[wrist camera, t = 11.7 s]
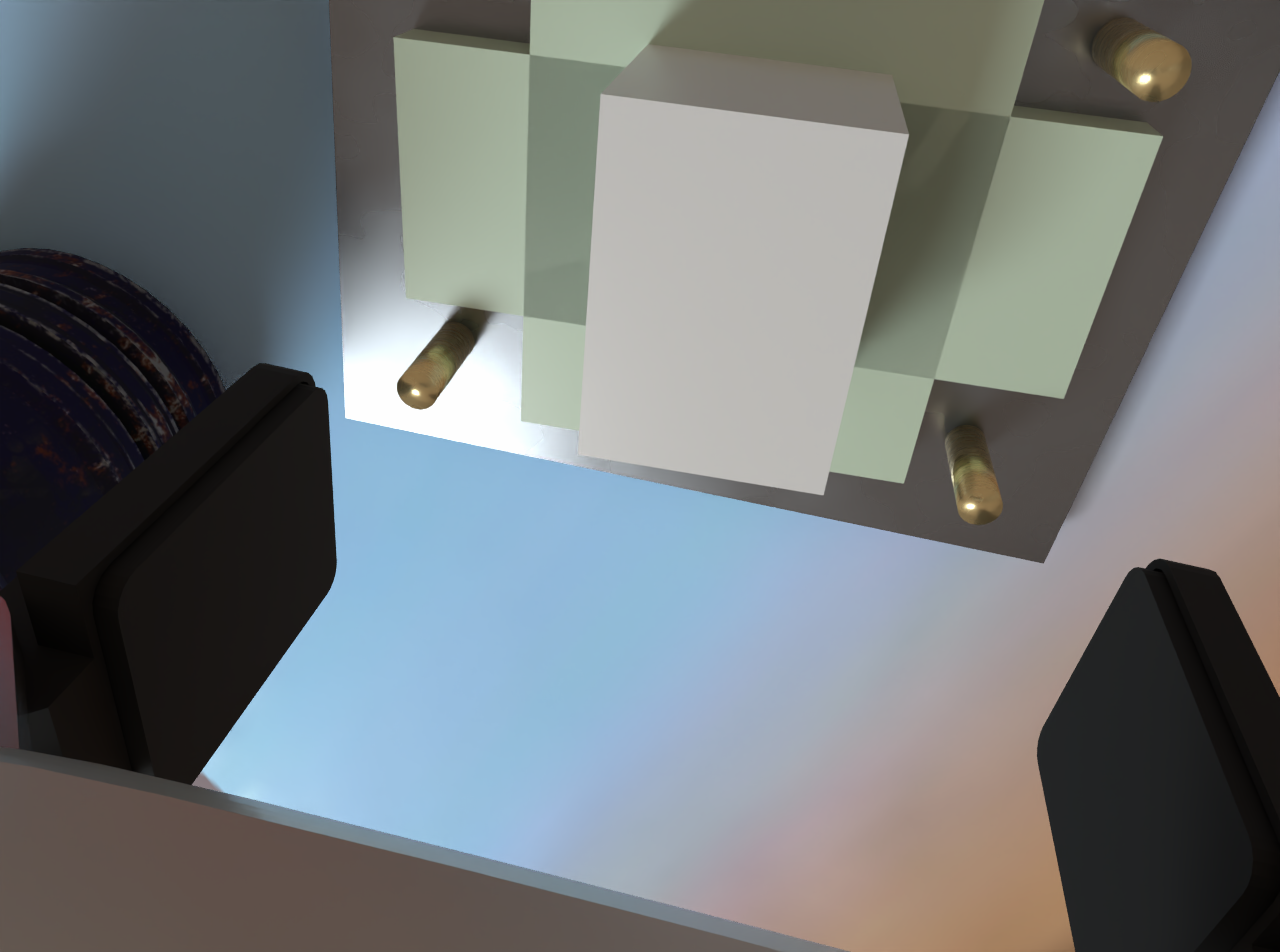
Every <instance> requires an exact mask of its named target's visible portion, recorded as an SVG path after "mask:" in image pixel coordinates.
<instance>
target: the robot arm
mask: <svg viewBox="0 0 1280 952" xmlns="http://www.w3.org/2000/svg"><path fill="white" fill-rule="evenodd" d="M336 565H337V559H336V540H335V522H334V504H333V485H332V467H331V448H330V430H329V412H328V399H327V394H326V392H325V390H323V389H322V388H319V387H315V382H314V380H313V377H312V376H311V375H310V374H309V373H307V372H302V371H298V370H293V369H289V368H284V367H279V366H275V365H270V364H266V363H259V364H258V365H256V366H254V367H253V368H252V369H250V370H249V371H248V372H247V373H246V374H245V375H243V376H242V377H241V378H240V379H239V380H238V381H236V382H235V383H234V384H233V385H232V386H231V387H229V388H228V389H227V390H226V391H225V392H224V393H223V394H221V395H220V396H219V397H218V398H217V399H216V400H214V401H213V402H212V403H211V404H210V405H209V406H207V407H206V408H205V409H204V410H203V411H202V412H200V413H199V414H198V415H197V416H196V417H195V418H193V419H192V420H191V421H190V422H189V423H188V424H186V425H185V426H184V427H183V428H182V429H181V430H179V431H178V432H177V433H176V434H175V435H174V436H172V437H171V438H170V439H169V440H168V441H167V442H165V443H164V444H163V445H162V446H161V447H160V448H159V449H157V450H156V451H155V452H154V453H153V454H152V455H150V456H149V457H148V458H147V459H146V460H145V461H143V462H142V463H141V464H140V465H139V466H138V467H136V468H135V469H134V470H133V471H132V472H131V473H129V474H128V475H127V476H126V477H125V478H124V479H122V480H121V481H120V482H119V483H118V484H117V485H115V486H114V487H113V488H112V489H111V490H110V491H108V492H107V493H106V494H105V495H104V496H103V497H101V498H100V499H99V500H98V501H97V502H96V503H95V504H93V505H92V506H91V507H90V508H89V509H88V510H86V511H85V512H84V513H83V514H82V515H81V516H79V517H78V518H77V519H76V520H75V521H74V522H72V523H71V524H70V525H69V526H68V527H67V528H65V529H64V530H63V531H62V532H61V533H60V534H58V535H57V536H56V537H55V538H54V539H53V540H51V541H50V542H49V543H48V544H47V545H46V546H44V547H43V548H42V549H41V550H40V551H39V552H37V553H36V554H35V555H34V556H33V557H32V558H31V559H29V560H28V561H27V562H26V563H25V564H24V565H22V566H21V567H20V568H19V569H18V570H17V571H16V573H17V577H16V578H14V579H13V580H12V581H11V582H10V583H9V584H8V585H6V586H5V587H4V588H3V589H2V590H1V591H0V952H849V951H845V950H842V949H838V948H834V947H830V946H826V945H822V944H819V943H815V942H811V941H807V940H803V939H800V938H796V937H792V936H788V935H784V934H780V933H777V932H773V931H769V930H765V929H761V928H757V927H753V926H749V925H746V924H742V923H738V922H734V921H730V920H726V919H722V918H718V917H714V916H711V915H707V914H703V913H699V912H695V911H691V910H687V909H683V908H679V907H676V906H672V905H668V904H664V903H660V902H656V901H652V900H648V899H644V898H641V897H637V896H633V895H629V894H625V893H621V892H617V891H613V890H609V889H605V888H601V887H598V886H594V885H590V884H586V883H582V882H578V881H574V880H570V879H566V878H562V877H558V876H554V875H550V874H547V873H543V872H539V871H535V870H531V869H527V868H523V867H519V866H515V865H511V864H507V863H503V862H500V861H496V860H492V859H488V858H484V857H480V856H476V855H472V854H468V853H464V852H460V851H456V850H452V849H448V848H444V847H440V846H436V845H432V844H428V843H424V842H420V841H416V840H412V839H408V838H404V837H400V836H396V835H392V834H388V833H384V832H380V831H376V830H372V829H368V828H364V827H360V826H356V825H352V824H348V823H344V822H340V821H336V820H332V819H328V818H324V817H320V816H316V815H312V814H308V813H304V812H300V811H296V810H292V809H288V808H284V807H280V806H276V805H272V804H268V803H264V802H260V801H256V800H252V799H248V798H244V797H240V796H236V795H231V794H227V793H223V792H218V791H214V790H210V789H205V788H201V787H197V786H193V785H192V783H193V782H194V781H195V779H196V778H197V777H198V775H199V774H200V772H201V771H202V770H203V768H204V767H205V765H206V764H207V762H208V761H209V760H210V758H211V757H212V755H213V754H214V753H215V751H216V750H217V748H218V747H219V746H220V744H221V743H222V741H223V740H224V739H225V737H226V736H227V734H228V733H229V731H230V730H231V729H232V727H233V726H234V724H235V723H236V722H237V720H238V719H239V717H240V716H241V715H242V713H243V712H244V710H245V709H246V708H247V706H248V705H249V703H250V702H251V701H252V699H253V698H254V696H255V695H256V693H257V692H258V691H259V689H260V688H261V686H262V685H263V684H264V682H265V681H266V679H267V678H268V677H269V675H270V674H271V672H272V671H273V670H274V668H275V667H276V665H277V664H278V662H279V661H280V660H281V658H282V657H283V655H284V654H285V653H286V651H287V650H288V648H289V647H290V646H291V644H292V643H293V641H294V640H295V639H296V637H297V636H298V634H299V633H300V632H301V630H302V629H303V627H304V626H305V624H306V623H307V622H308V620H309V619H310V617H311V616H312V615H313V613H314V612H315V610H316V609H317V608H318V606H319V605H320V603H321V602H322V601H323V599H324V598H325V596H326V595H327V593H328V592H329V590H330V588H331V586H332V583H333V581H334V577H335V573H336ZM1037 759H1038V766H1039V771H1040V776H1041V781H1042V786H1043V791H1044V796H1045V801H1046V806H1047V811H1048V816H1049V821H1050V826H1051V831H1052V836H1053V841H1054V846H1055V851H1056V856H1057V861H1058V866H1059V871H1060V876H1061V881H1062V886H1063V891H1064V896H1065V901H1066V906H1067V912H1068V917H1069V922H1070V927H1071V932H1072V937H1073V942H1074V947H1075V952H1280V697H1279V695H1278V693H1277V691H1276V689H1275V687H1274V685H1273V683H1272V681H1271V679H1270V677H1269V675H1268V673H1267V671H1266V669H1265V667H1264V665H1263V663H1262V661H1261V659H1260V657H1259V655H1258V653H1257V651H1256V649H1255V647H1254V645H1253V643H1252V641H1251V639H1250V637H1249V635H1248V633H1247V631H1246V629H1245V627H1244V625H1243V623H1242V621H1241V619H1240V617H1239V615H1238V613H1237V611H1236V609H1235V607H1234V605H1233V603H1232V601H1231V599H1230V597H1229V595H1228V593H1227V591H1226V589H1225V587H1224V585H1223V583H1222V581H1221V579H1220V577H1219V576H1218V575H1217V573H1216V572H1214V571H1212V570H1209V569H1205V568H1200V567H1196V566H1191V565H1187V564H1182V563H1177V562H1173V561H1168V560H1164V559H1157V560H1154V561H1152V562H1151V563H1150V564H1149V565H1148V566H1147V567H1146V569H1144V568H1139V567H1137V568H1133V569H1132V570H1131V571H1130V572H1129V573H1128V574H1127V576H1126V577H1125V579H1124V581H1123V583H1122V585H1121V586H1120V588H1119V590H1118V592H1117V594H1116V595H1115V597H1114V599H1113V601H1112V603H1111V605H1110V606H1109V608H1108V610H1107V612H1106V614H1105V615H1104V617H1103V619H1102V621H1101V623H1100V624H1099V626H1098V628H1097V630H1096V632H1095V634H1094V635H1093V637H1092V639H1091V641H1090V643H1089V644H1088V646H1087V648H1086V650H1085V652H1084V653H1083V655H1082V657H1081V659H1080V661H1079V663H1078V664H1077V666H1076V668H1075V670H1074V672H1073V673H1072V675H1071V677H1070V679H1069V681H1068V683H1067V684H1066V686H1065V688H1064V690H1063V692H1062V693H1061V695H1060V697H1059V699H1058V701H1057V702H1056V704H1055V706H1054V708H1053V710H1052V712H1051V713H1050V715H1049V717H1048V719H1047V721H1046V722H1045V724H1044V726H1043V728H1042V730H1041V733H1040V736H1039V740H1038V747H1037Z"/></svg>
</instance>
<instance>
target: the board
mask: <svg viewBox="0 0 1280 952" xmlns="http://www.w3.org/2000/svg"><path fill="white" fill-rule="evenodd" d="M1043 3H1044V0H531V20H530V44H528V43H521V42H513V41H505V40H497V39H489V38H481V37H474V36H466V35H458V34H450V33H442V32H434V31H427V30H419V29H412V30H409V31H407V32H405V33H402V34H400V35H397V36H395V37H393V40H394V61H395V82H396V102H397V123H398V143H399V164H400V185H401V205H402V226H403V246H404V267H405V288H406V298H408V299H415V300H421V301H428V302H434V303H441V304H447V305H454V306H460V307H467V308H473V309H480V310H487V311H493V312H500V313H506V314H513V315H519V316H523V354H522V396H521V421H523V422H529V423H535V424H541V425H547V426H553V427H559V428H566V429H572V430H578V431H579V443H578V455H582V456H588V457H594V458H600V459H606V460H612V461H618V462H624V463H630V464H636V465H642V466H649V467H655V468H661V469H667V470H673V471H679V472H685V473H691V474H697V475H703V476H709V477H715V478H721V479H727V480H733V481H739V482H745V483H751V484H757V485H763V486H770V487H776V488H782V489H788V490H794V491H800V492H806V493H812V494H818V495H824V491H825V487H826V483H827V479H828V475H829V472H835V473H842V474H848V475H854V476H860V477H866V478H872V479H878V480H884V481H891V482H897V483H903V484H904V481H905V478H906V474H907V471H908V468H909V464H910V461H911V457H912V454H913V450H914V447H915V444H916V440H917V437H918V433H919V430H920V426H921V423H922V419H923V416H924V413H925V409H926V406H927V402H928V399H929V395H930V392H931V388H932V385H933V382H934V379H937V380H943V381H950V382H956V383H963V384H970V385H976V386H983V387H989V388H996V389H1002V390H1009V391H1015V392H1022V393H1028V394H1035V395H1041V396H1048V397H1054V398H1061V399H1064V397H1065V394H1066V392H1067V389H1068V386H1069V384H1070V381H1071V378H1072V376H1073V373H1074V370H1075V368H1076V365H1077V363H1078V360H1079V357H1080V355H1081V352H1082V349H1083V347H1084V344H1085V341H1086V339H1087V336H1088V334H1089V331H1090V328H1091V326H1092V323H1093V320H1094V318H1095V315H1096V312H1097V310H1098V307H1099V305H1100V302H1101V299H1102V297H1103V294H1104V291H1105V289H1106V286H1107V283H1108V281H1109V278H1110V276H1111V273H1112V270H1113V268H1114V265H1115V262H1116V260H1117V257H1118V255H1119V252H1120V249H1121V247H1122V244H1123V241H1124V239H1125V236H1126V233H1127V231H1128V228H1129V226H1130V223H1131V220H1132V218H1133V215H1134V212H1135V210H1136V207H1137V204H1138V202H1139V199H1140V197H1141V194H1142V191H1143V189H1144V186H1145V183H1146V181H1147V178H1148V175H1149V173H1150V170H1151V168H1152V165H1153V162H1154V160H1155V157H1156V154H1157V152H1158V149H1159V146H1160V144H1161V141H1162V139H1163V136H1162V135H1161V134H1160V133H1159V132H1158V131H1156V130H1155V129H1154V128H1153V127H1152V126H1150V125H1149V124H1148V123H1147V122H1139V121H1131V120H1123V119H1116V118H1108V117H1100V116H1092V115H1084V114H1076V113H1069V112H1061V111H1053V110H1045V109H1037V108H1029V107H1022V106H1014V103H1015V100H1016V96H1017V93H1018V89H1019V86H1020V82H1021V79H1022V76H1023V72H1024V69H1025V65H1026V62H1027V58H1028V55H1029V52H1030V48H1031V45H1032V41H1033V38H1034V34H1035V31H1036V27H1037V24H1038V21H1039V17H1040V14H1041V10H1042V7H1043Z"/></svg>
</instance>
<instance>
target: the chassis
mask: <svg viewBox="0 0 1280 952" xmlns="http://www.w3.org/2000/svg"><path fill="white" fill-rule="evenodd" d="M329 12H330V38H331V63H332V89H333V114H334V139H335V165H336V190H337V216H338V241H339V267H340V292H341V318H342V343H343V369H344V394H345V418H348V419H353V420H358V421H363V422H368V423H372V424H377V425H382V426H387V427H392V428H396V429H401V430H406V431H411V432H416V433H420V434H425V435H430V436H435V437H440V438H444V439H449V440H454V441H459V442H464V443H468V444H473V445H478V446H483V447H488V448H492V449H497V450H502V451H507V452H512V453H516V454H521V455H526V456H531V457H536V458H540V459H545V460H550V461H555V462H560V463H564V464H569V465H574V466H579V467H584V468H588V469H593V470H598V471H603V472H608V473H612V474H617V475H622V476H627V477H632V478H636V479H641V480H646V481H651V482H656V483H660V484H665V485H670V486H675V487H680V488H684V489H689V490H694V491H699V492H704V493H708V494H713V495H718V496H723V497H728V498H732V499H737V500H742V501H747V502H752V503H756V504H761V505H766V506H771V507H776V508H780V509H785V510H790V511H795V512H800V513H804V514H809V515H814V516H819V517H824V518H828V519H833V520H838V521H843V522H848V523H852V524H857V525H862V526H867V527H872V528H876V529H881V530H886V531H891V532H896V533H900V534H905V535H910V536H915V537H920V538H924V539H929V540H934V541H939V542H944V543H948V544H953V545H958V546H963V547H968V548H972V549H977V550H982V551H987V552H992V553H996V554H1001V555H1006V556H1011V557H1016V558H1020V559H1025V560H1030V561H1035V562H1040V563H1044V562H1045V559H1046V557H1047V555H1048V553H1049V551H1050V549H1051V547H1052V545H1053V543H1054V541H1055V539H1056V536H1057V534H1058V532H1059V530H1060V528H1061V526H1062V524H1063V522H1064V520H1065V518H1066V516H1067V514H1068V511H1069V509H1070V507H1071V505H1072V503H1073V501H1074V499H1075V497H1076V495H1077V493H1078V491H1079V488H1080V486H1081V484H1082V482H1083V480H1084V478H1085V476H1086V474H1087V472H1088V470H1089V468H1090V466H1091V463H1092V461H1093V459H1094V457H1095V455H1096V453H1097V451H1098V449H1099V447H1100V445H1101V443H1102V440H1103V438H1104V436H1105V434H1106V432H1107V430H1108V428H1109V426H1110V424H1111V422H1112V420H1113V418H1114V415H1115V413H1116V411H1117V409H1118V407H1119V405H1120V403H1121V401H1122V399H1123V397H1124V395H1125V392H1126V390H1127V388H1128V386H1129V384H1130V382H1131V380H1132V378H1133V376H1134V374H1135V372H1136V370H1137V367H1138V365H1139V363H1140V361H1141V359H1142V357H1143V355H1144V353H1145V351H1146V349H1147V347H1148V344H1149V342H1150V340H1151V338H1152V336H1153V334H1154V332H1155V330H1156V328H1157V326H1158V324H1159V322H1160V319H1161V317H1162V315H1163V313H1164V311H1165V309H1166V307H1167V305H1168V303H1169V301H1170V299H1171V296H1172V294H1173V292H1174V290H1175V288H1176V286H1177V284H1178V282H1179V280H1180V278H1181V276H1182V273H1183V271H1184V269H1185V267H1186V265H1187V263H1188V261H1189V259H1190V257H1191V255H1192V253H1193V251H1194V248H1195V246H1196V244H1197V242H1198V240H1199V238H1200V236H1201V234H1202V232H1203V230H1204V228H1205V225H1206V223H1207V221H1208V219H1209V217H1210V215H1211V213H1212V211H1213V209H1214V207H1215V205H1216V203H1217V200H1218V198H1219V196H1220V194H1221V192H1222V190H1223V188H1224V186H1225V184H1226V182H1227V180H1228V177H1229V175H1230V173H1231V171H1232V169H1233V167H1234V165H1235V163H1236V161H1237V159H1238V157H1239V155H1240V152H1241V150H1242V148H1243V146H1244V144H1245V142H1246V140H1247V138H1248V136H1249V134H1250V132H1251V129H1252V127H1253V125H1254V123H1255V121H1256V119H1257V117H1258V115H1259V113H1260V111H1261V109H1262V107H1263V104H1264V102H1265V100H1266V98H1267V96H1268V94H1269V92H1270V90H1271V88H1272V86H1273V84H1274V81H1275V79H1276V77H1277V75H1278V73H1279V71H1280V0H1044V3H1043V7H1042V10H1041V14H1040V17H1039V21H1038V24H1037V27H1036V31H1035V34H1034V38H1033V41H1032V45H1031V48H1030V52H1029V55H1028V58H1027V62H1026V65H1025V69H1024V72H1023V76H1022V79H1021V82H1020V86H1019V89H1018V93H1017V96H1016V100H1015V103H1014V106H1022V107H1029V108H1037V109H1045V110H1053V111H1061V112H1069V113H1076V114H1084V115H1092V116H1100V117H1108V118H1116V119H1123V120H1131V121H1139V122H1147V123H1148V124H1149V125H1150V126H1152V127H1153V128H1154V129H1155V130H1156V131H1158V132H1159V133H1160V134H1161V135H1162V136H1163V139H1162V141H1161V144H1160V146H1159V149H1158V152H1157V154H1156V157H1155V160H1154V162H1153V165H1152V168H1151V170H1150V173H1149V175H1148V178H1147V181H1146V183H1145V186H1144V189H1143V191H1142V194H1141V197H1140V199H1139V202H1138V204H1137V207H1136V210H1135V212H1134V215H1133V218H1132V220H1131V223H1130V226H1129V228H1128V231H1127V233H1126V236H1125V239H1124V241H1123V244H1122V247H1121V249H1120V252H1119V255H1118V257H1117V260H1116V262H1115V265H1114V268H1113V270H1112V273H1111V276H1110V278H1109V281H1108V283H1107V286H1106V289H1105V291H1104V294H1103V297H1102V299H1101V302H1100V305H1099V307H1098V310H1097V312H1096V315H1095V318H1094V320H1093V323H1092V326H1091V328H1090V331H1089V334H1088V336H1087V339H1086V341H1085V344H1084V347H1083V349H1082V352H1081V355H1080V357H1079V360H1078V363H1077V365H1076V368H1075V370H1074V373H1073V376H1072V378H1071V381H1070V384H1069V386H1068V389H1067V392H1066V394H1065V397H1064V399H1061V398H1054V397H1048V396H1041V395H1035V394H1028V393H1022V392H1015V391H1009V390H1002V389H996V388H989V387H983V386H976V385H970V384H963V383H956V382H950V381H943V380H937V379H934V382H933V385H932V388H931V392H930V395H929V399H928V402H927V406H926V409H925V413H924V416H923V419H922V423H921V426H920V430H919V433H918V437H917V440H916V444H915V447H914V450H913V454H912V457H911V461H910V464H909V468H908V471H907V474H906V478H905V481H904V484H903V483H897V482H891V481H884V480H878V479H872V478H866V477H860V476H854V475H848V474H842V473H835V472H829V475H828V479H827V483H826V487H825V491H824V495H818V494H812V493H806V492H800V491H794V490H788V489H782V488H776V487H770V486H763V485H757V484H751V483H745V482H739V481H733V480H727V479H721V478H715V477H709V476H703V475H697V474H691V473H685V472H679V471H673V470H667V469H661V468H655V467H649V466H642V465H636V464H630V463H624V462H618V461H612V460H606V459H600V458H594V457H588V456H582V455H578V443H579V431H578V430H572V429H566V428H559V427H553V426H547V425H541V424H535V423H529V422H523V421H521V396H522V354H523V316H519V315H513V314H506V313H500V312H493V311H487V310H480V309H473V308H467V307H460V306H454V305H447V304H441V303H434V302H428V301H421V300H415V299H408V298H406V288H405V267H404V246H403V226H402V205H401V185H400V164H399V143H398V123H397V102H396V82H395V61H394V40H393V37H395V36H397V35H400V34H402V33H405V32H407V31H409V30H412V29H419V30H427V31H434V32H442V33H450V34H458V35H466V36H474V37H481V38H489V39H497V40H505V41H513V42H521V43H528V44H530V20H531V0H329Z"/></svg>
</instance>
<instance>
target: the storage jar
mask: <svg viewBox="0 0 1280 952" xmlns="http://www.w3.org/2000/svg"><path fill="white" fill-rule="evenodd" d="M224 392H225V389H224V386H223V384H222V382H221V379H220V377H219V375H218V373H217V371H216V369H215V368H214V366H213V364H212V363H211V361H210V359H209V358H208V356H207V354H206V353H205V351H204V350H203V348H202V347H201V346H200V345H199V343H198V342H197V341H196V339H195V338H194V337H193V335H192V334H191V333H190V332H189V330H188V329H187V328H186V327H185V326H184V325H183V324H182V323H181V322H180V321H179V320H178V319H177V318H176V317H175V316H174V315H173V314H172V313H171V312H170V310H169V309H167V308H166V307H165V306H164V305H162V304H161V303H160V302H159V301H158V300H156V299H155V298H154V297H153V296H152V295H150V294H149V293H148V292H147V291H145V290H144V289H142V288H141V287H139V286H138V285H136V284H135V283H133V282H132V281H130V280H129V279H127V278H126V277H124V276H122V275H120V274H118V273H116V272H114V271H112V270H110V269H108V268H106V267H104V266H102V265H100V264H98V263H96V262H93V261H90V260H87V259H85V258H82V257H79V256H76V255H73V254H69V253H64V252H59V251H54V250H49V249H33V248H22V249H14V250H7V251H2V252H0V591H1V590H2V589H3V588H4V587H5V586H6V585H8V584H9V583H10V582H11V581H12V580H13V579H14V578H16V577H17V573H16V571H17V570H18V569H19V568H20V567H21V566H22V565H24V564H25V563H26V562H27V561H28V560H29V559H31V558H32V557H33V556H34V555H35V554H36V553H37V552H39V551H40V550H41V549H42V548H43V547H44V546H46V545H47V544H48V543H49V542H50V541H51V540H53V539H54V538H55V537H56V536H57V535H58V534H60V533H61V532H62V531H63V530H64V529H65V528H67V527H68V526H69V525H70V524H71V523H72V522H74V521H75V520H76V519H77V518H78V517H79V516H81V515H82V514H83V513H84V512H85V511H86V510H88V509H89V508H90V507H91V506H92V505H93V504H95V503H96V502H97V501H98V500H99V499H100V498H101V497H103V496H104V495H105V494H106V493H107V492H108V491H110V490H111V489H112V488H113V487H114V486H115V485H117V484H118V483H119V482H120V481H121V480H122V479H124V478H125V477H126V476H127V475H128V474H129V473H131V472H132V471H133V470H134V469H135V468H136V467H138V466H139V465H140V464H141V463H142V462H143V461H145V460H146V459H147V458H148V457H149V456H150V455H152V454H153V453H154V452H155V451H156V450H157V449H159V448H160V447H161V446H162V445H163V444H164V443H165V442H167V441H168V440H169V439H170V438H171V437H172V436H174V435H175V434H176V433H177V432H178V431H179V430H181V429H182V428H183V427H184V426H185V425H186V424H188V423H189V422H190V421H191V420H192V419H193V418H195V417H196V416H197V415H198V414H199V413H200V412H202V411H203V410H204V409H205V408H206V407H207V406H209V405H210V404H211V403H212V402H213V401H214V400H216V399H217V398H218V397H219V396H220V395H221V394H223V393H224Z"/></svg>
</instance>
